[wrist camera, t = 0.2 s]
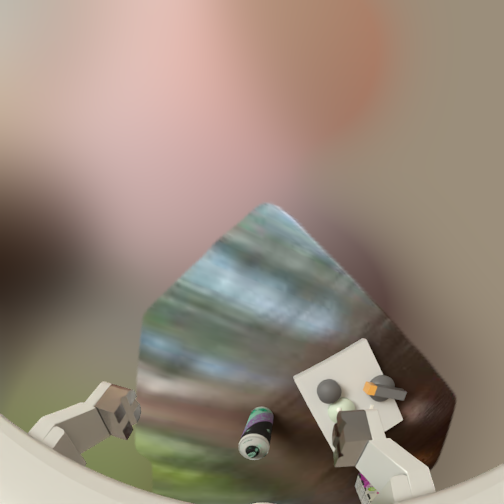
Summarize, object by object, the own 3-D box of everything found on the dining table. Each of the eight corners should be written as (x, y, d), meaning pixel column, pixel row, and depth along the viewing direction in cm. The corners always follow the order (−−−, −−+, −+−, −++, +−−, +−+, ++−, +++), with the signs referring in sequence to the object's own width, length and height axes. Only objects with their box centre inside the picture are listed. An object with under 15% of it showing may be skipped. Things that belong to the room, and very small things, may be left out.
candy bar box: (396, 467, 49) (418, 496, 33) (392, 480, 48) (411, 510, 32) (357, 472, 51) (372, 505, 35) (353, 486, 49) (366, 520, 34)
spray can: (276, 410, 57) (272, 447, 38) (268, 429, 57) (261, 470, 37) (254, 403, 58) (241, 437, 39) (246, 422, 57) (231, 460, 38)
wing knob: (400, 378, 53) (410, 383, 47) (391, 402, 51) (400, 409, 46) (366, 371, 54) (374, 376, 49) (357, 395, 53) (363, 402, 48)
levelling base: (398, 416, 53) (407, 423, 47) (334, 452, 53) (338, 463, 47) (362, 338, 59) (369, 340, 53) (293, 376, 59) (294, 382, 53)
